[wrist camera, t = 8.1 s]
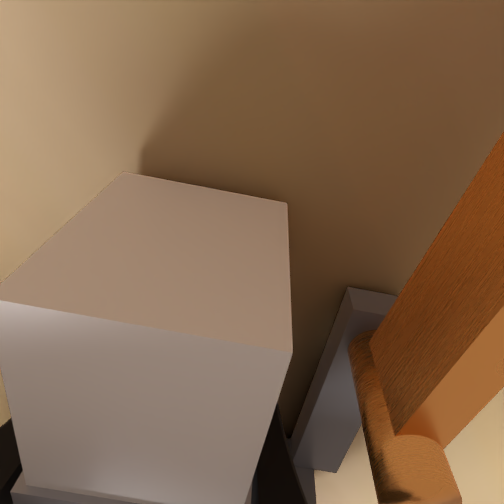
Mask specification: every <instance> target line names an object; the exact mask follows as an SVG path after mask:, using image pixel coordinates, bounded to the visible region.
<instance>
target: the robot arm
mask: <svg viewBox="0 0 504 504" xmlns="http://www.w3.org/2000/svg"><path fill="white" fill-rule="evenodd" d="M22 471H23V469H22V464H21V460H20V455H19V450H18V446H17V441H16V437H15V432H14V427H13V423H12V418H11V419H10V420H8V421H7V422H6V423H5V424H4V425H2V426H1V427H0V504H13V500H12V496H11V493H10V491H11V490H12V488H13V486H14V485H15V483H16V481H17V479H18V478H19V476H20V474H21V473H22ZM251 504H308V503H307V500H306V498H305V495H304V492H303V489H302V487H301V484H300V481H299V478H298V475H297V472H296V469H295V466H294V463H293V459H292V456H291V453H290V450H289V446H288V443H287V439H286V436H285V432H284V428H283V424H282V420H281V415H280V411H279V405H278V401H277V404H276V407H275V410H274V413H273V416H272V419H271V423H270V426H269V429H268V432H267V435H266V438H265V441H264V444H263V447H262V451H261V454H260V457H259V460H258V463H257V466H256V469H255V472H254V476H253V479H252V493H251Z"/></svg>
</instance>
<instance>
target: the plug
mask: <svg viewBox="0 0 504 504" xmlns="http://www.w3.org/2000/svg"><path fill="white" fill-rule="evenodd" d="M292 354H293V343H292V316H291V289H290V261H289V234H288V207H287V203H285V202H280V201H275V200H269V199H264V198H259V197H254V196H249V195H243V194H238V193H233V192H228V191H223V190H217V189H212V188H207V187H202V186H197V185H191V184H186V183H181V182H176V181H171V180H165V179H160V178H155V177H150V176H145V175H140V174H134V173H129V172H124V171H123V172H122V173H121V174H120V175H119V176H118V177H117V178H115V179H114V180H113V181H112V182H111V183H110V184H109V185H108V186H107V187H106V188H105V189H103V190H102V191H101V192H100V193H99V194H98V195H97V196H96V197H95V198H94V199H92V200H91V201H90V202H89V203H88V204H87V205H86V206H85V207H84V208H83V209H82V210H80V211H79V212H78V213H77V214H76V215H75V216H74V217H73V218H72V219H71V220H70V221H68V222H67V223H66V224H65V225H64V226H63V227H62V228H61V229H60V230H59V231H58V232H56V233H55V234H54V235H53V236H52V237H51V238H50V239H49V240H48V241H47V242H45V243H44V244H43V245H42V246H41V247H40V248H39V249H38V250H37V251H36V252H35V253H33V254H32V255H31V256H30V257H29V258H28V259H27V260H26V261H25V262H24V263H23V264H21V265H20V266H19V267H18V268H17V269H16V270H15V271H14V272H13V273H12V274H10V275H9V276H8V277H7V278H6V279H5V280H4V281H3V282H2V283H1V284H0V368H1V372H2V377H3V382H4V386H5V391H6V395H7V400H8V405H9V409H10V414H11V418H12V423H13V427H14V432H15V437H16V441H17V446H18V450H19V455H20V460H21V464H22V469H23V471H22V473H21V474H20V476H19V478H18V479H17V481H16V483H15V485H14V486H13V488H12V490H11V491H10V493H11V496H12V500H13V504H251V493H252V479H253V476H254V472H255V469H256V466H257V463H258V460H259V457H260V454H261V451H262V447H263V444H264V441H265V438H266V435H267V432H268V429H269V426H270V423H271V419H272V416H273V413H274V410H275V407H276V404H277V401H278V398H279V394H280V391H281V388H282V385H283V382H284V379H285V376H286V373H287V370H288V366H289V363H290V360H291V357H292Z"/></svg>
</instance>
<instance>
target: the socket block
mask: <svg viewBox="0 0 504 504" xmlns="http://www.w3.org/2000/svg"><path fill="white" fill-rule="evenodd" d="M397 298H398V296H395V295H390V294H385V293H379V292H374V291H368V290H363V289H358V288H352V287H347V290H346V292H345V295H344V298H343V300H342V303H341V306H340V308H339V311H338V314H337V316H336V319H335V322H334V324H333V327H332V330H331V332H330V335H329V338H328V340H327V343H326V346H325V348H324V351H323V354H322V356H321V359H320V362H319V364H318V367H317V370H316V372H315V375H314V378H313V380H312V383H311V386H310V388H309V391H308V394H307V396H306V399H305V402H304V404H303V407H302V410H301V412H300V415H299V418H298V420H297V423H296V426H295V428H294V431H293V434H292V436H291V439H288V438H286V439H287V443H288V446H289V450H290V453H291V456H292V459H293V463H294V466H295V469H296V472H297V475H298V478H299V481H300V484H301V487H302V489H303V492H304V495H305V498H306V500H307V503H308V504H316V493H315V480H314V469H315V470H321V471H327V472H333V473H337V471H338V469H339V467H340V465H341V463H342V461H343V459H344V457H345V455H346V453H347V451H348V449H349V447H350V445H351V443H352V441H353V439H354V437H355V435H356V433H357V432H358V430H359V428H360V426H361V424H362V421H361V416H360V411H359V407H358V402H357V397H356V392H355V387H354V382H353V377H352V372H351V367H350V363H349V358H348V346H349V344H350V342H351V341H352V340H353V339H354V338H355V337H356V336H357V335H359V334H361V333H363V332H365V331H369V330H376V329H378V327H379V326H380V324H381V323H382V321H383V319H384V318H385V316H386V315H387V313H388V312H389V310H390V308H391V307H392V305H393V304H394V302H395V301H396V299H397Z"/></svg>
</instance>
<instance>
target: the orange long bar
mask: <svg viewBox="0 0 504 504" xmlns="http://www.w3.org/2000/svg"><path fill="white" fill-rule="evenodd" d="M348 358H349V363H350V367H351V372H352V377H353V382H354V387H355V392H356V397H357V402H358V407H359V411H360V416H361V421H362V426H363V431H364V436H365V441H366V446H367V451H368V455H369V460H370V465H371V470H372V475H373V480H374V485H375V490H376V495H377V499H378V504H462V497H461V495H460V492H459V489H458V487H457V484H456V482H455V479H454V476H453V474H452V471H451V469H450V466H449V463H448V461H447V458H446V456H445V453H444V450H443V449H444V448H445V447H446V446H447V445H448V444H449V443H450V442H451V441H452V440H453V439H454V438H455V437H456V436H457V435H458V434H459V432H460V431H461V430H462V429H463V428H464V427H465V426H466V425H467V424H468V423H469V422H470V421H471V420H472V419H473V418H474V417H475V416H476V415H477V414H478V413H479V412H480V411H481V410H482V409H483V408H484V407H485V406H486V405H487V403H488V402H489V401H490V400H491V399H492V398H493V397H494V396H495V395H496V394H497V393H498V392H499V391H500V390H501V389H502V388H503V387H504V132H503V133H502V135H501V137H500V138H499V140H498V141H497V143H496V144H495V146H494V148H493V149H492V151H491V152H490V154H489V155H488V157H487V158H486V160H485V162H484V163H483V165H482V166H481V168H480V169H479V171H478V173H477V174H476V176H475V177H474V179H473V180H472V182H471V183H470V185H469V187H468V188H467V190H466V191H465V193H464V194H463V196H462V198H461V199H460V201H459V202H458V204H457V205H456V207H455V208H454V210H453V212H452V213H451V215H450V216H449V218H448V219H447V221H446V223H445V224H444V226H443V227H442V229H441V230H440V232H439V233H438V235H437V237H436V238H435V240H434V241H433V243H432V244H431V246H430V248H429V249H428V251H427V252H426V254H425V255H424V257H423V258H422V260H421V262H420V263H419V265H418V266H417V268H416V269H415V271H414V273H413V274H412V276H411V277H410V279H409V280H408V282H407V283H406V285H405V287H404V288H403V290H402V291H401V293H400V294H399V296H398V298H397V299H396V301H395V302H394V304H393V305H392V307H391V308H390V310H389V312H388V313H387V315H386V316H385V318H384V319H383V321H382V323H381V324H380V326H379V327H378V329H376V330H369V331H365V332H363V333H361V334H359V335H357V336H356V337H355V338H354V339H353V340H352V341H351V342H350V344H349V346H348Z"/></svg>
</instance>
